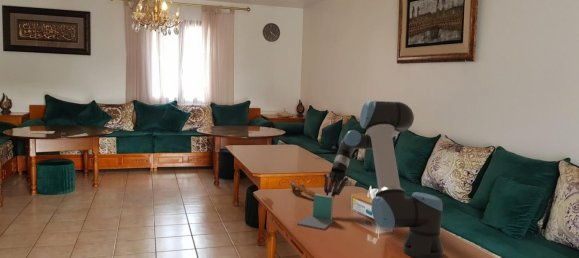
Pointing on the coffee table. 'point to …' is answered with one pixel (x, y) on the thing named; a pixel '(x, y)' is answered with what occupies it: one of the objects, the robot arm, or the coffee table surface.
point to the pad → (315, 222)
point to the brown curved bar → (301, 188)
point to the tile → (323, 206)
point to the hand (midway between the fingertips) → (327, 205)
